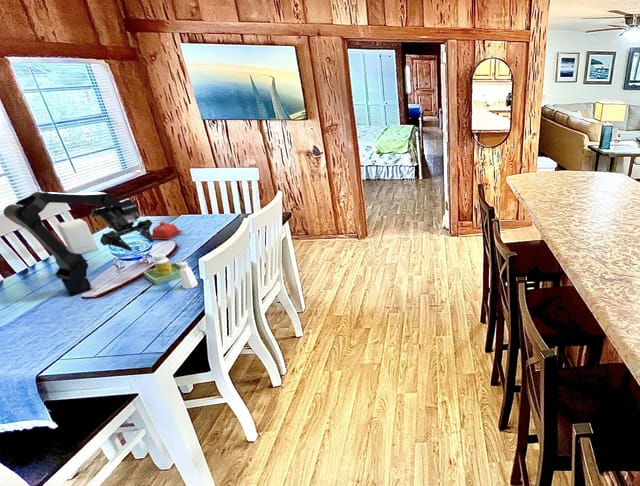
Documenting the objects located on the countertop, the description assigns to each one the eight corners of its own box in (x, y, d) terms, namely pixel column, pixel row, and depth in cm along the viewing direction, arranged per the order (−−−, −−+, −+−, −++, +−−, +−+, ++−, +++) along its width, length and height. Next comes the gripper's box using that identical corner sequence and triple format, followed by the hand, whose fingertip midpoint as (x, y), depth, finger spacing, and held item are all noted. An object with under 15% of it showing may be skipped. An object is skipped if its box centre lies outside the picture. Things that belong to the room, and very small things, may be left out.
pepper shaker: (196, 281, 168) (189, 258, 164) (199, 286, 165) (191, 263, 160) (181, 285, 165) (173, 262, 160) (184, 290, 161) (175, 267, 157)
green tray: (156, 285, 164) (154, 280, 163) (145, 277, 171) (143, 271, 169) (188, 274, 174) (187, 269, 173) (176, 266, 180) (175, 261, 179)
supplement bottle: (174, 270, 175) (167, 251, 171) (173, 275, 171) (166, 256, 167) (159, 273, 172) (151, 254, 168) (158, 278, 168) (150, 259, 164)
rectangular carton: (99, 249, 194) (86, 221, 188) (75, 256, 188) (61, 227, 181) (92, 245, 199) (80, 218, 192) (68, 251, 192) (55, 223, 186)
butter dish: (169, 240, 205) (164, 226, 202) (148, 240, 206) (142, 225, 202) (184, 232, 216) (180, 218, 212) (164, 232, 216) (159, 217, 212)
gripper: (93, 215, 154) (125, 244, 156) (141, 201, 171) (169, 227, 173) (87, 231, 159) (117, 258, 161) (134, 216, 176) (161, 241, 178)
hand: (142, 245), depth 168 cm, fingers open, 9 cm apart
